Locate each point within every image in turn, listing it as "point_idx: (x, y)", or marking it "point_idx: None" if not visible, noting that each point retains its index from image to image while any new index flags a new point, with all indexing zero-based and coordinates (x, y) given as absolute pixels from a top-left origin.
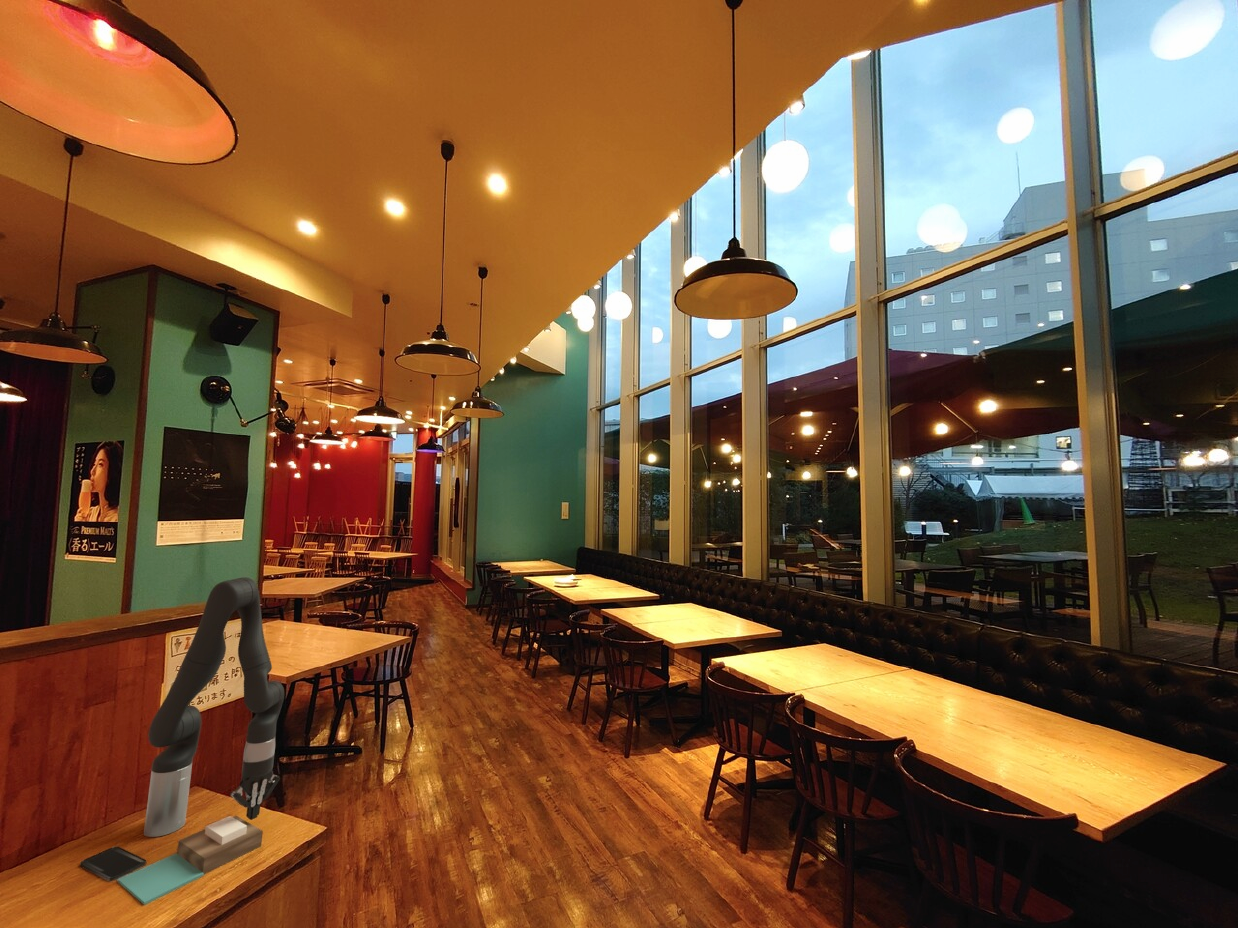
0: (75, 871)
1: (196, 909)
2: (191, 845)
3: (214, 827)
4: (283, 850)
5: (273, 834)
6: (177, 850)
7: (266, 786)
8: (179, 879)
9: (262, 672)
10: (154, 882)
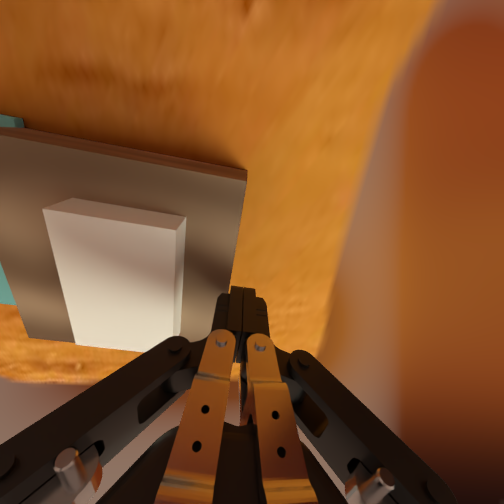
0: None
1: (27, 378)
2: (4, 231)
3: (74, 260)
4: (233, 369)
5: (276, 306)
6: (3, 127)
7: (333, 426)
8: (3, 282)
9: None
10: None
